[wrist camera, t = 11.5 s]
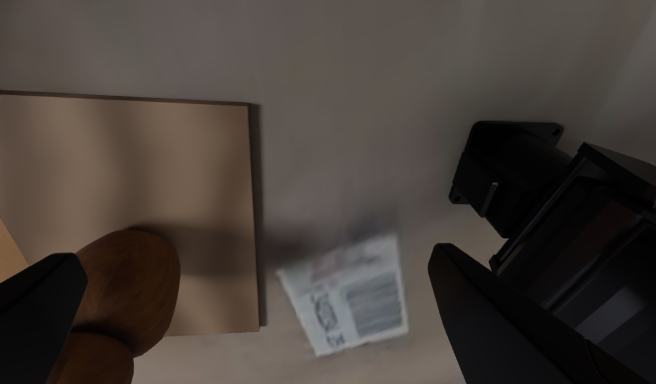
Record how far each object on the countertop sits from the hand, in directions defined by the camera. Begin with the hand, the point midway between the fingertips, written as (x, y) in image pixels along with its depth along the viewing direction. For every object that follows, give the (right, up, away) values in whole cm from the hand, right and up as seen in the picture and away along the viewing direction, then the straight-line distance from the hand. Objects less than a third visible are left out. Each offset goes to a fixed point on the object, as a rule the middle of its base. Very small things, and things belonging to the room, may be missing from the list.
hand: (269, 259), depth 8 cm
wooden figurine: (-12, -2, +15) cm, 19 cm away
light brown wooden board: (-12, -2, +16) cm, 20 cm away
